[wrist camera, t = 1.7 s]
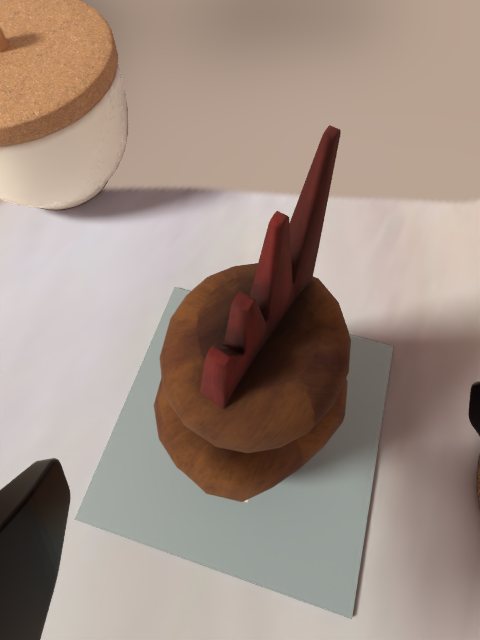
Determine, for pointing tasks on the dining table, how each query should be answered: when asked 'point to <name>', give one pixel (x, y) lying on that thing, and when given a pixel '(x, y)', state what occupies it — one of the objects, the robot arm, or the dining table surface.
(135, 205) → the dining table surface
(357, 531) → the tile
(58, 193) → the lidded jar
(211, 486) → the wooden figurine
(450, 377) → the dining table surface
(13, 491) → the robot arm
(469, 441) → the dining table surface
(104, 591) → the dining table surface
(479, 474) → the coaster
